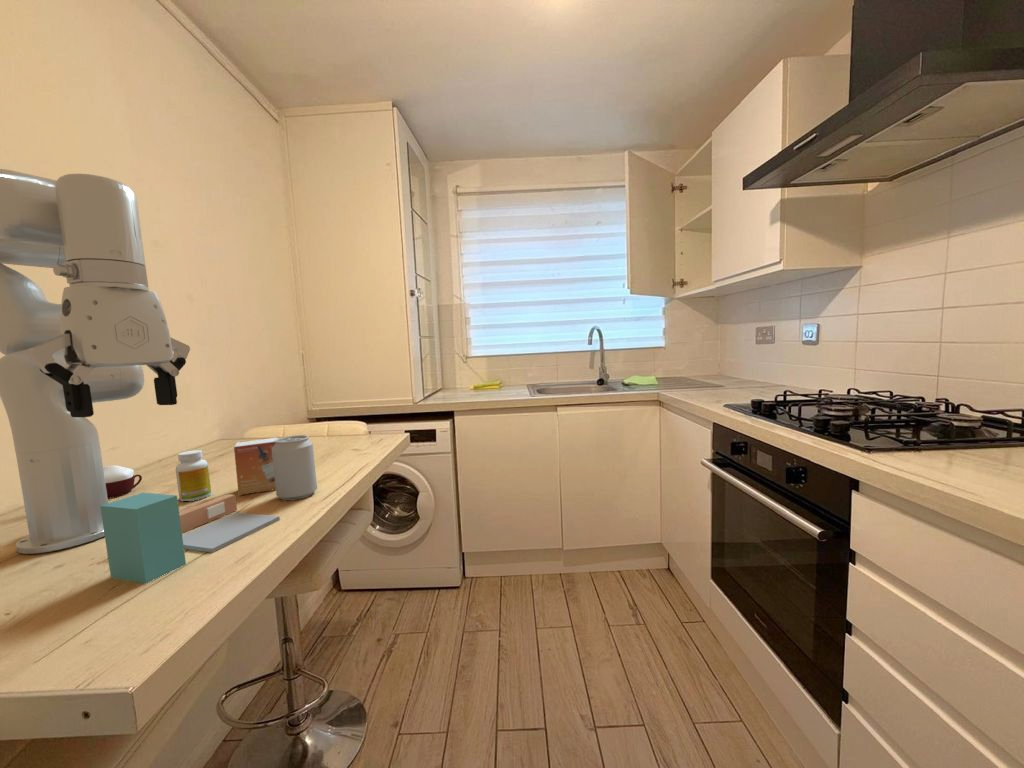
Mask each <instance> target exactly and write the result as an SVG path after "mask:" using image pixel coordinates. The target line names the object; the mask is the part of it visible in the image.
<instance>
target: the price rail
mask: <svg viewBox="0 0 1024 768" xmlns="http://www.w3.org/2000/svg"><path fill="white" fill-rule="evenodd" d="M235 510H237V511H238V507H237V498H236V494H230V493H229V494H224V495H221V496H219V497H216V498H214V499H213V498H212V499H211V500H209V501H206V502H203V503H200V504H197V505H194V506H192V507H190V508H187V509H184V510H182V511H179V515H180V523H181V530H182V534H185V533H186V532H189V531H191V530H194V529H196V528H198V527H200V526H199V525H201V526H203V525H205V524H204V523H206V524H208V523H210V522H212V521H211V520H213V521H215V520H217V519H216V518H218V519H219V517H220V518H222V517H224V515H225V516H227V515H229V514H228V513H230V514H232V513H234V512H236V511H235ZM233 511H234V512H233ZM231 512H232V513H231ZM226 514H227V515H226ZM214 519H215V520H214ZM209 521H210V522H209ZM207 522H208V523H207ZM202 524H203V525H202ZM197 526H198V527H197ZM195 527H196V528H195ZM193 528H194V529H193ZM190 529H191V530H190ZM188 530H189V531H188Z"/></svg>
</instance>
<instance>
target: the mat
mask: <svg viewBox="0 0 1024 768" xmlns="http://www.w3.org/2000/svg"><path fill="white" fill-rule="evenodd" d="M280 520H281V517H280V516H278V515H270V514H269V515H268V514H258V513H248V512H240V511H239V512H236V511H235V512H233V513H231V514H228V515H226V516H225V517H223V518H222V517H221V518H220V519H216V520H214V521H213V522H209V523H207V524H205V525H202V527H201V526H200V527H199V528H198V527H197V529H196V528H195V529H193V530H192V531H191V530H190V531H188V532H187V533H183V534H182V538H183V545H184V550H192V551H197V552H198V551H199V552H206V553H212V554H213V553H215V552H217V551H219V550H221V549H223V548H226V547H228V546H229V545H231V544H233V543H236V542H238V541H239V540H242V539H243V538H245V537H247V536H249V535H251V534H253V533H255V532H258V531H260V530H261V529H264V528H266V527H268V526H270V525H272V524H274V523H276V522H278V521H280Z"/></svg>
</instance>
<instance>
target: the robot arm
mask: <svg viewBox="0 0 1024 768" xmlns="http://www.w3.org/2000/svg"><path fill="white" fill-rule="evenodd" d="M142 237H143V236H142V229H141V221H140V214H139V205H138V201H137V197H136V194H135V193H134V191H133V190H132V189H131V187H129V186H128V185H126V184H125V183H123V182H121V181H118V180H116V179H113V178H109V177H106V176H103V175H96V174H89V173H88V174H87V173H68V174H64V175H62V176H59V177H58V178H57V179H52V178H48V177H43V176H39V175H33V174H28V173H25V172H20V171H15V170H11V169H5V168H0V353H1V354H2V355H3V356H2V357H0V400H1V401H2V404H3V407H4V409H5V413H6V417H7V419H8V423H9V426H10V430H11V434H12V440H13V446H14V451H15V456H16V457H15V459H16V462H17V464H16V465H17V469H18V475H19V480H20V486H21V493H22V498H23V504H24V505H23V506H24V510H25V517H26V522H27V528H28V535H27V536H25V537H23V538H21V539H19V540H18V541H17V542H16V543H15V549H16V552H17V553H19V554H24V555H30V554H31V555H33V554H42V553H43V554H44V553H50V552H54V551H60V550H65V549H68V548H73V547H76V546H79V545H83V544H87V543H89V542H93V541H95V540H99V539H101V538H105V535H104V528H103V521H102V515H101V508H100V506H101V505H104V504H107V503H109V500H108V497H107V490H106V483H105V477H104V470H103V468H104V463H103V457H102V452H101V447H100V444H101V442H100V438H99V432H98V429H97V428H96V427H97V426H95V424H94V423H93V422H92V421H91V420H89V419H88V418H90V417H92V416H94V414H95V412H94V407H93V404H95V403H102V402H103V403H104V402H113V401H120V400H126V399H130V398H133V397H135V396H136V395H138V394H140V392H142V390H143V388H144V386H145V373H144V370H143V367H142V366H147V367H148V369H150V370H151V371H152V372H153V373H155V374H156V375H157V377H154V379H153V385H154V391H155V400H156V404H157V405H159V406H173V405H174V406H176V405H177V403H178V400H177V399H178V398H177V397H178V390H177V384H176V377H178V376H179V375H180V371H181V369H183V367H184V366H185V365H186V363H187V361H186V360H187V359H188V356H189V353H190V351H191V347H190V346H189V345H188V344H186V343H183V342H182V341H180V340H177V339H175V338H172V337H171V334H170V331H169V330H170V329H169V325H168V322H167V319H166V318H167V317H166V315H165V311H164V309H163V306H162V304H161V301H160V299H159V296H158V294H157V292H156V291H152V290H151V291H150V289H149V281H148V275H147V274H148V273H147V265H146V260H145V252H144V246H143V245H144V244H143V243H144V242H143V238H142ZM8 265H13V266H22V267H23V266H26V267H37V268H47V269H53V270H52V271H53V273H54V275H55V276H58V277H63V278H65V279H66V283H67V284H69V285H68V286H67V287H64V288H63V291H62V298H61V302H60V303H54V302H50V301H49V300H48V299H47V297H46V294H45V293H44V291H43V289H42V288H41V287H40V286H39V285H37V283H36V282H34V281H33V280H31V278H29V277H27V276H26V275H24V274H22V273H21V272H19V271H17V270H15V269H13V268H11V267H9V266H8Z"/></svg>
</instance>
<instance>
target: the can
mask: <svg viewBox="0 0 1024 768" xmlns="http://www.w3.org/2000/svg"><path fill="white" fill-rule="evenodd" d="M309 437H310V436H309V435H305V434H303V435H302V434H301V435H299V434H298V435H291V436H289V435H288V436H284V437H280V438H278V439H277V440H275V441H274V442H275V445H274V446H273V447H272V449H271V450H272V459H273V468H274V477H275V486H276V490H275V492H276V494H275V495H276V497H277V498H280V499H281V500H282V499H283V500H282V501H286V500H291V501H297V499H298V500H302V499H305V497H306V498H308V497H311V496H312V495H314V493H315V491H316V490H318V484H317V483H318V480H317V472H316V462H315V461H316V460H315V451H314V442H313V441H311V439H309ZM301 498H302V499H301Z"/></svg>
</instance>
